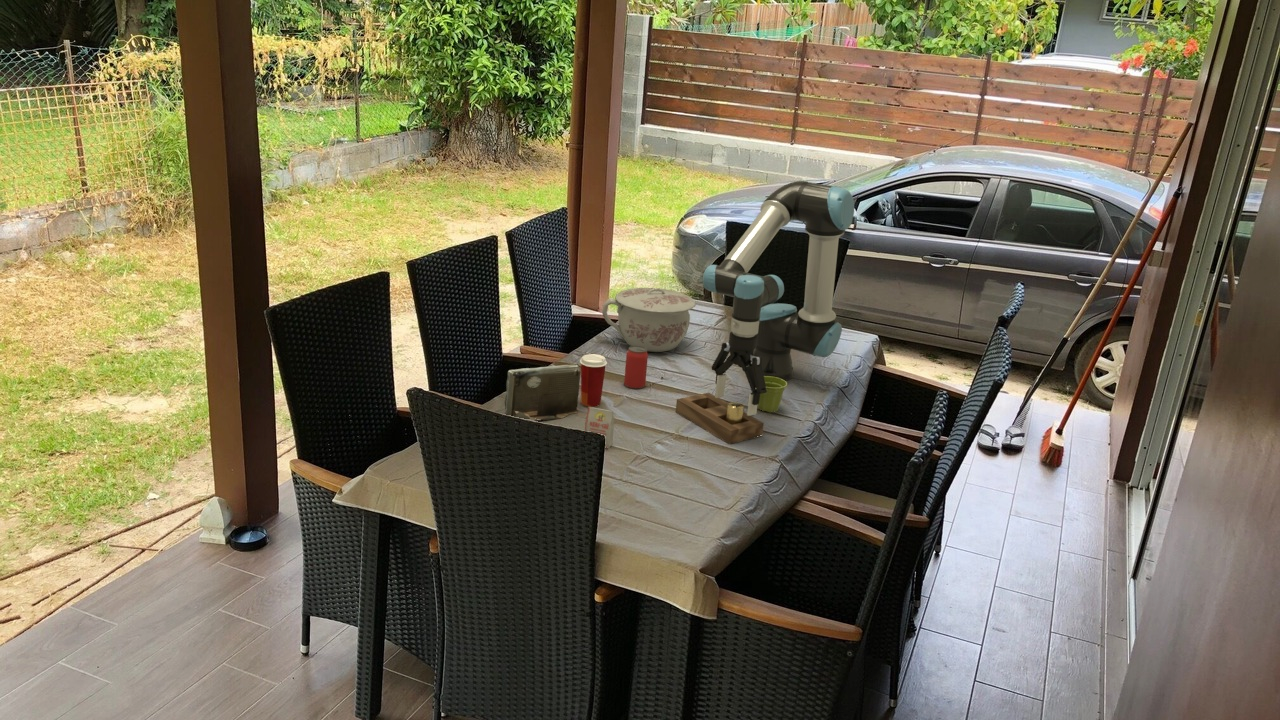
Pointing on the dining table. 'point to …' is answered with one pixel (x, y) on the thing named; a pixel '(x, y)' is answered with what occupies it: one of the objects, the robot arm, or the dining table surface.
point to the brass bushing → (734, 413)
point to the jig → (717, 418)
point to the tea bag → (600, 423)
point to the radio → (542, 392)
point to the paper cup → (592, 379)
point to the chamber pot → (651, 317)
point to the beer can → (636, 367)
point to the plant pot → (772, 394)
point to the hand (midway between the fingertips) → (735, 405)
